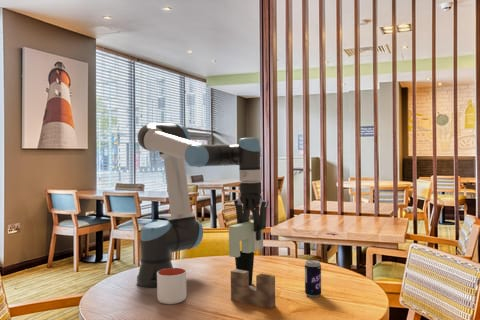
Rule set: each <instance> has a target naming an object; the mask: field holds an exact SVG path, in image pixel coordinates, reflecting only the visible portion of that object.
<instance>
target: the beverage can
mask: <svg viewBox="0 0 480 320" xmlns="http://www.w3.org/2000/svg"><path fill="white" fill-rule="evenodd" d="M304 293H305V295H306V296H308V297H310V298H318V297H320V295H321V294H322V265H321V261H319V260H316V259H308V260H305V263H304Z"/></svg>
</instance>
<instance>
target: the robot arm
mask: <svg viewBox="0 0 480 320" xmlns="http://www.w3.org/2000/svg"><path fill="white" fill-rule="evenodd" d="M137 142H138V144H139V146H140V147H141V148H142V149H144V150H146V151H147V152H148V151H149V152H151V153H153V152H159V157H160V158H161V159H162V160H163V163H164V172H165V179H166V180H165V181H166V186H167V187H166V188H167V193H168V194H167V195H168V203H169V210H170V215H169V217H168V219H167V220H159V221H152V222H149V223H146V224H144V225H143V226H142V227H141V228H140V237H139V238H140V259H141V261H140V266H139V269H138V274H137V277H136V284H137V285H138V286H140V287H144V288H157V272H158V271H160V270H162V269H167V268H174V267H173V263H172V256H171V255H172V253H176V252H181V251H185V250H187V251H188V250H191V249H194V248H196V247H198V246H200V244H201V242H202V240H203V238H204V227H203V225H202V224H201V222H200V220H197V218H196V215H195V214H194V213H193V212H192V208H191V200H190V194H189V186H188V179H187V171H186V164H185V162H186V163H187V165H188V166H190V167H196V168H202V167H218V166H220V167H221V166H224V167H225V166H238V167H239V169H238V170H239V181H240V182H239V193H240V196H239V198H238V199H235V200H234V201H233V204H234V206H235V213H236V214H235V215H236V222H237V223H236V224H240V223H244V222H248V221H250V216H251V214H252V221H254V228H255V230H254V231H253V250H257V251H259V250H258V249H260V246H259V240H261V230H263V231H264V230H265V229H266V228H267V214H268V213H267V210H268V206H269V201H268V200H265V199H263V198H262V183H261V182H260V181H261V180H262V171H261V152H262V151H261V150H262V149H261V142H260V139H259V138H258V137H243V138H242V137H241V138H239V139H238V142H237V144H204V143H200V142H198V141H197V142H196V141H194V140H191V134H190V131H189V130H188V128H187V127H186V126H184V125H182V124H178V123H163V122H162V123H157V122H150V123H147V124H145V125H143V126H141V128H140V129H139V131H138V132H137ZM260 250H261V249H260Z"/></svg>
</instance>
